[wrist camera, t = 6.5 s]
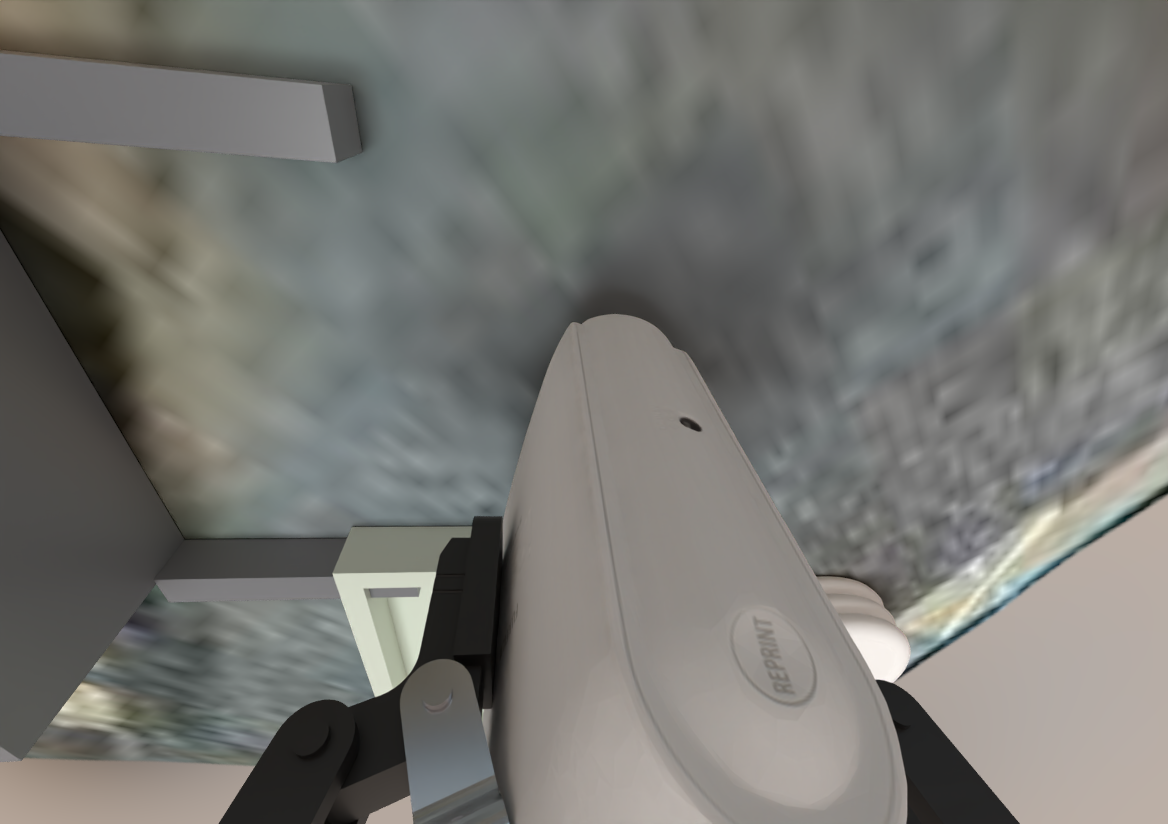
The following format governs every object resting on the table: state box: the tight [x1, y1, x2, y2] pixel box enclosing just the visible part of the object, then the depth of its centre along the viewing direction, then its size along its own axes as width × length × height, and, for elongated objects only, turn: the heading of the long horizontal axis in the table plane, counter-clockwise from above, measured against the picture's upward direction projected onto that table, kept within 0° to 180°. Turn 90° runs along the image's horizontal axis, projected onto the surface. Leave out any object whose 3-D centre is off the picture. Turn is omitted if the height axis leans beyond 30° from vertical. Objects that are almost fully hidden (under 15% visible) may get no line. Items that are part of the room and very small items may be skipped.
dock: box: [0, 50, 421, 762], centre depth 13 cm, size 18×16×9 cm
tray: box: [332, 526, 484, 723], centre depth 26 cm, size 18×14×2 cm
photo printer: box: [483, 314, 907, 824], centre depth 11 cm, size 10×4×12 cm, turn 163°
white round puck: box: [817, 576, 911, 683], centre depth 27 cm, size 10×10×4 cm
